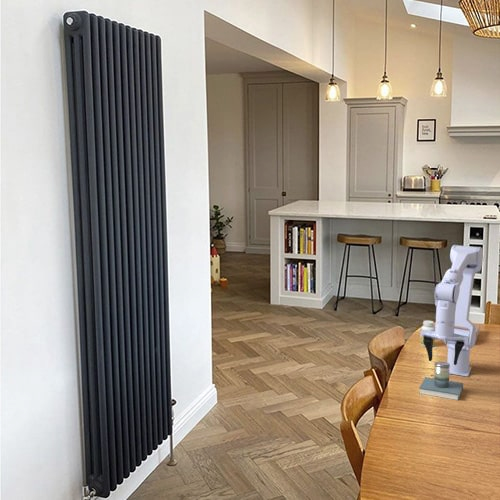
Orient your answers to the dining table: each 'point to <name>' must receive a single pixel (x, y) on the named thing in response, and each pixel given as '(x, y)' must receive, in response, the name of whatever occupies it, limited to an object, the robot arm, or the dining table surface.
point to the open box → (468, 329)
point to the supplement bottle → (427, 329)
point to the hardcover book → (441, 389)
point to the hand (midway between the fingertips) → (442, 362)
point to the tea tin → (441, 374)
